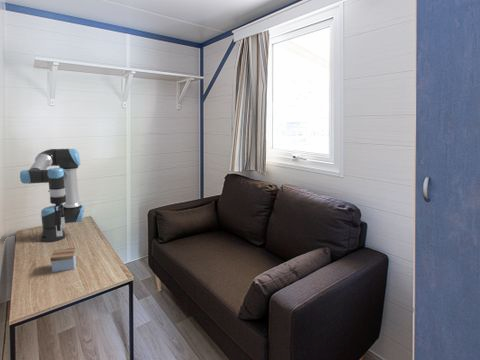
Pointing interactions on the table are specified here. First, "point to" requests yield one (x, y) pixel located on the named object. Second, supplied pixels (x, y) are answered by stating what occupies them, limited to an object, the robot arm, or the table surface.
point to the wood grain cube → (63, 254)
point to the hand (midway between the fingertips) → (61, 231)
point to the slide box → (63, 264)
